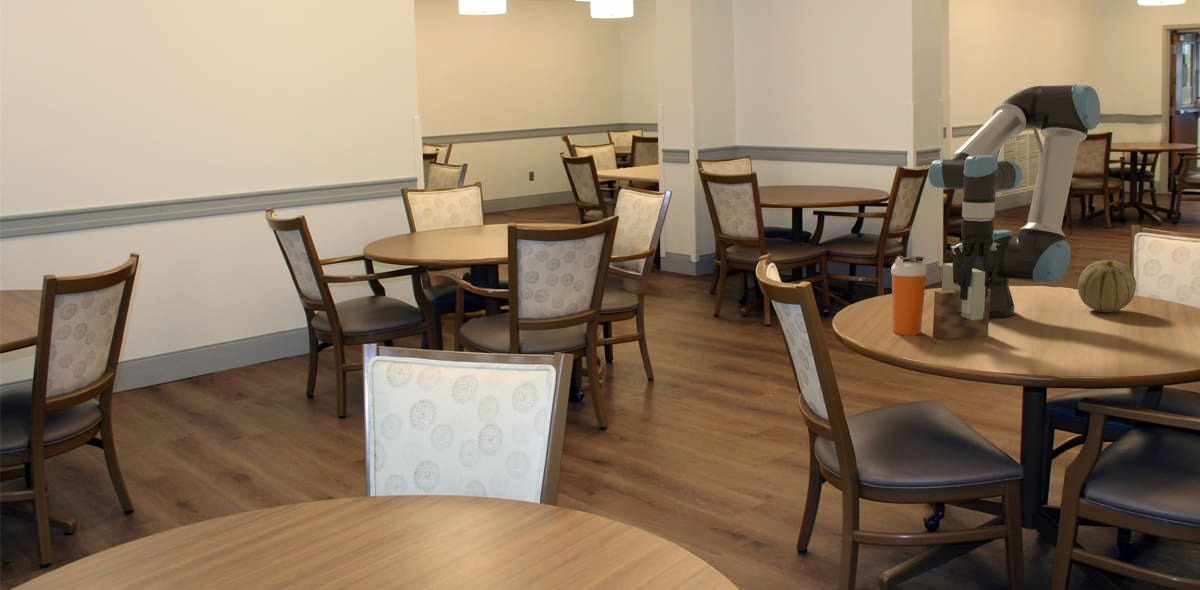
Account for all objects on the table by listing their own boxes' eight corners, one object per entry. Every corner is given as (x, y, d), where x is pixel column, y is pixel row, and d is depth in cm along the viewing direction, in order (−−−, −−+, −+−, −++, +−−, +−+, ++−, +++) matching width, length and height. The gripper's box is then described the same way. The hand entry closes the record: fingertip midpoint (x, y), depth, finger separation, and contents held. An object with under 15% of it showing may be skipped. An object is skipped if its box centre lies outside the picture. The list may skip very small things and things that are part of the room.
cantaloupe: (1116, 305, 290) (1120, 253, 287) (1145, 316, 276) (1149, 262, 273) (1065, 306, 290) (1069, 255, 287) (1091, 318, 275) (1095, 264, 272)
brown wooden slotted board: (981, 332, 263) (983, 287, 260) (987, 335, 260) (990, 289, 257) (932, 336, 259) (934, 291, 257) (939, 339, 257) (941, 293, 254)
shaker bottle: (926, 336, 260) (929, 259, 256) (890, 335, 262) (893, 259, 258) (922, 328, 269) (925, 254, 265) (887, 327, 271) (890, 254, 267)
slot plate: (940, 308, 265) (943, 263, 262) (951, 307, 265) (953, 262, 263) (972, 319, 251) (974, 272, 249) (982, 319, 252) (985, 271, 250)
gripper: (997, 215, 254) (992, 306, 259) (940, 218, 250) (935, 311, 255) (1016, 219, 247) (1010, 312, 251) (957, 222, 243) (952, 317, 248)
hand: (972, 311), depth 253 cm, fingers closed on slot plate, 3 cm apart
